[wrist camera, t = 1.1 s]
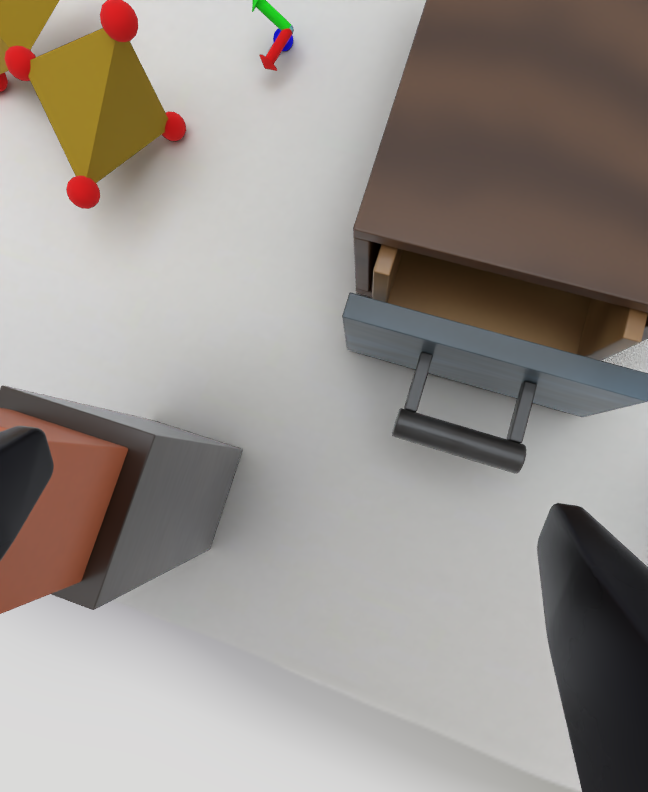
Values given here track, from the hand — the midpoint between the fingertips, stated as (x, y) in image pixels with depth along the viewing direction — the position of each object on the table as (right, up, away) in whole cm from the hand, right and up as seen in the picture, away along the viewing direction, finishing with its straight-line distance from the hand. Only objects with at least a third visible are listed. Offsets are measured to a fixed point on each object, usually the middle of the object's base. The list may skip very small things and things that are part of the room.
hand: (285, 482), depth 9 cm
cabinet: (+12, +15, +21) cm, 29 cm away
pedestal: (-8, -4, +20) cm, 22 cm away
